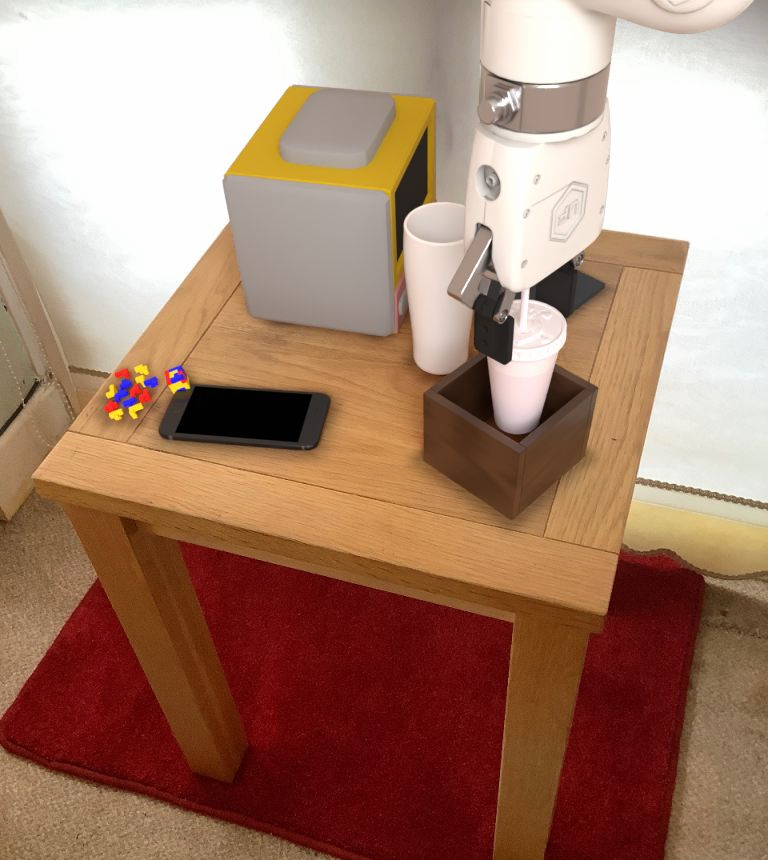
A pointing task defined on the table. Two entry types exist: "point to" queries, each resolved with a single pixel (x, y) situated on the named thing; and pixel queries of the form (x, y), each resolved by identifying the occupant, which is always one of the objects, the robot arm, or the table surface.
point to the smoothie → (527, 365)
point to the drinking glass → (436, 286)
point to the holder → (504, 436)
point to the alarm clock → (331, 206)
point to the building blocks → (174, 380)
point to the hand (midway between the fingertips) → (523, 330)
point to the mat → (584, 292)
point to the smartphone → (246, 417)
